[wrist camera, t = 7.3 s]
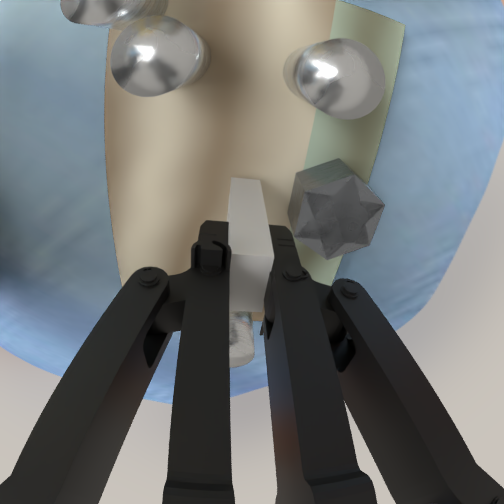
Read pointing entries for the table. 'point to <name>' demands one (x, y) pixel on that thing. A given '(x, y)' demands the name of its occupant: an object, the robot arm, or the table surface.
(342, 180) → the gray polyhedron
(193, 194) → the board
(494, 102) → the table surface
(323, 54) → the spacers
